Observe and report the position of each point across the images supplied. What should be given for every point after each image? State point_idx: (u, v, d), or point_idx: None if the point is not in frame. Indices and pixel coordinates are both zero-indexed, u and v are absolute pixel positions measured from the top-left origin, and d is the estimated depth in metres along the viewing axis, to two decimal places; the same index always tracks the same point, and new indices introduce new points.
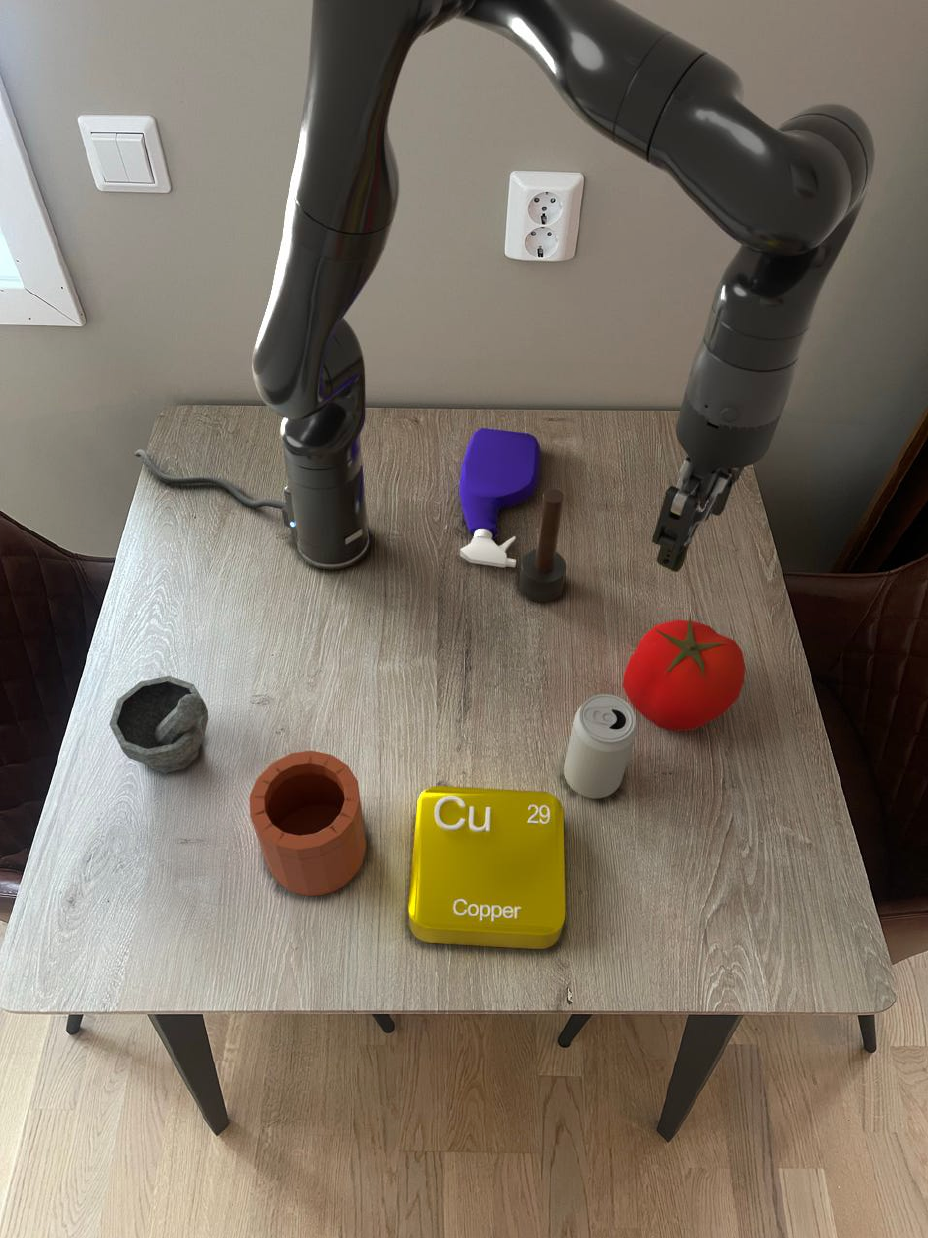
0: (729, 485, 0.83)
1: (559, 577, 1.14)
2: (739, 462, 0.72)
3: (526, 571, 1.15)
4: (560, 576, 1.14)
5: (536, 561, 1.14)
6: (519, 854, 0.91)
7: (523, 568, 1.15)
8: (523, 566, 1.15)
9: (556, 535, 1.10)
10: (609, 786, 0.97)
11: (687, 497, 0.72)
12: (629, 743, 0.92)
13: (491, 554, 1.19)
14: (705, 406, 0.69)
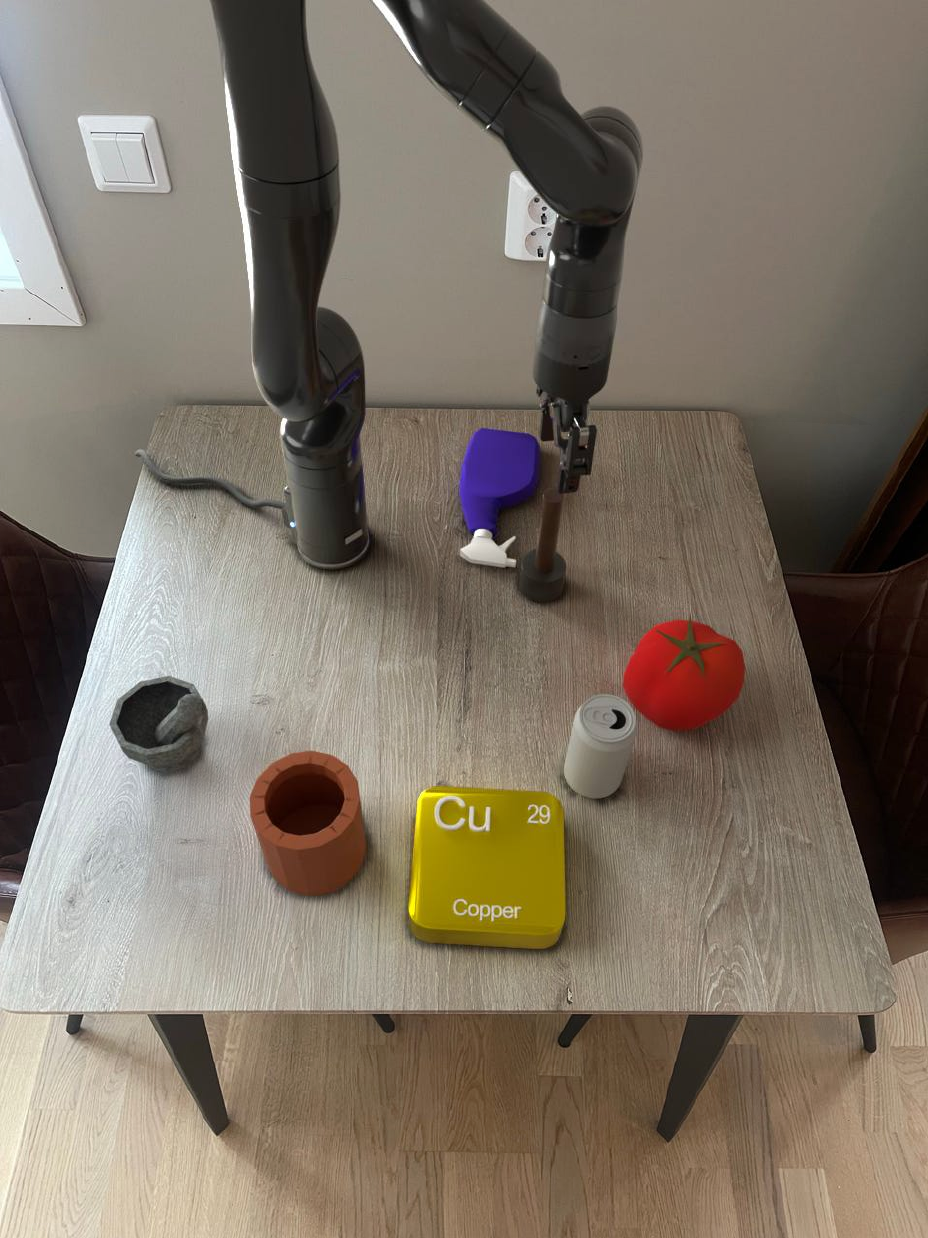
0: None
1: (559, 577, 1.14)
2: (602, 385, 0.91)
3: (526, 571, 1.15)
4: (560, 576, 1.14)
5: (536, 561, 1.14)
6: (519, 854, 0.91)
7: (523, 568, 1.15)
8: (523, 566, 1.15)
9: (556, 535, 1.10)
10: (609, 786, 0.97)
11: (588, 428, 0.90)
12: (629, 743, 0.92)
13: (491, 554, 1.19)
14: (574, 357, 0.87)
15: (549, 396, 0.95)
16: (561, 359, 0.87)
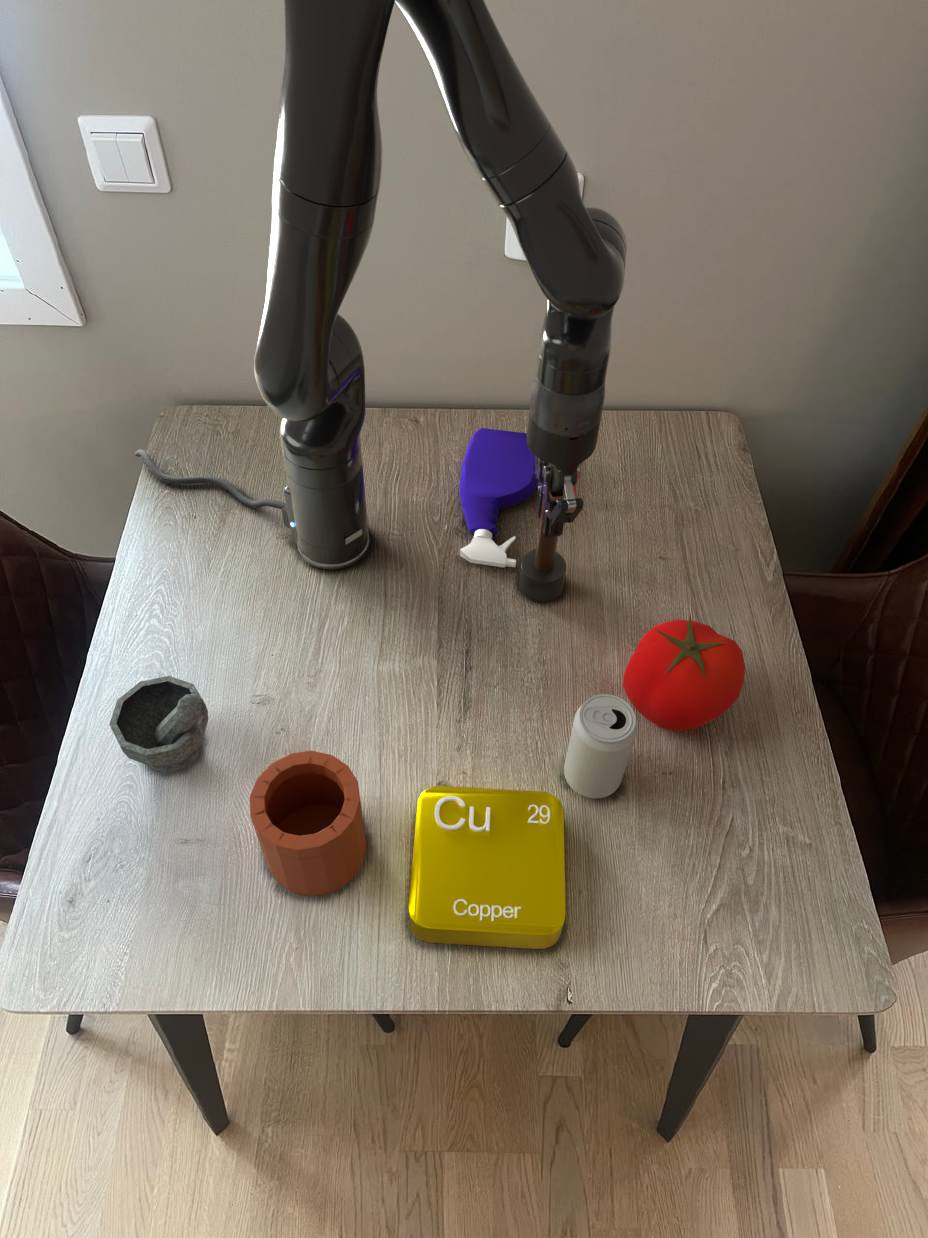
0: None
1: (559, 577, 1.14)
2: (591, 452, 0.98)
3: (526, 571, 1.15)
4: (560, 576, 1.14)
5: (536, 561, 1.14)
6: (519, 854, 0.91)
7: (523, 568, 1.15)
8: (523, 566, 1.15)
9: None
10: (609, 786, 0.97)
11: (576, 504, 0.99)
12: (629, 743, 0.92)
13: (491, 554, 1.19)
14: (565, 429, 0.94)
15: None
16: (553, 430, 0.94)
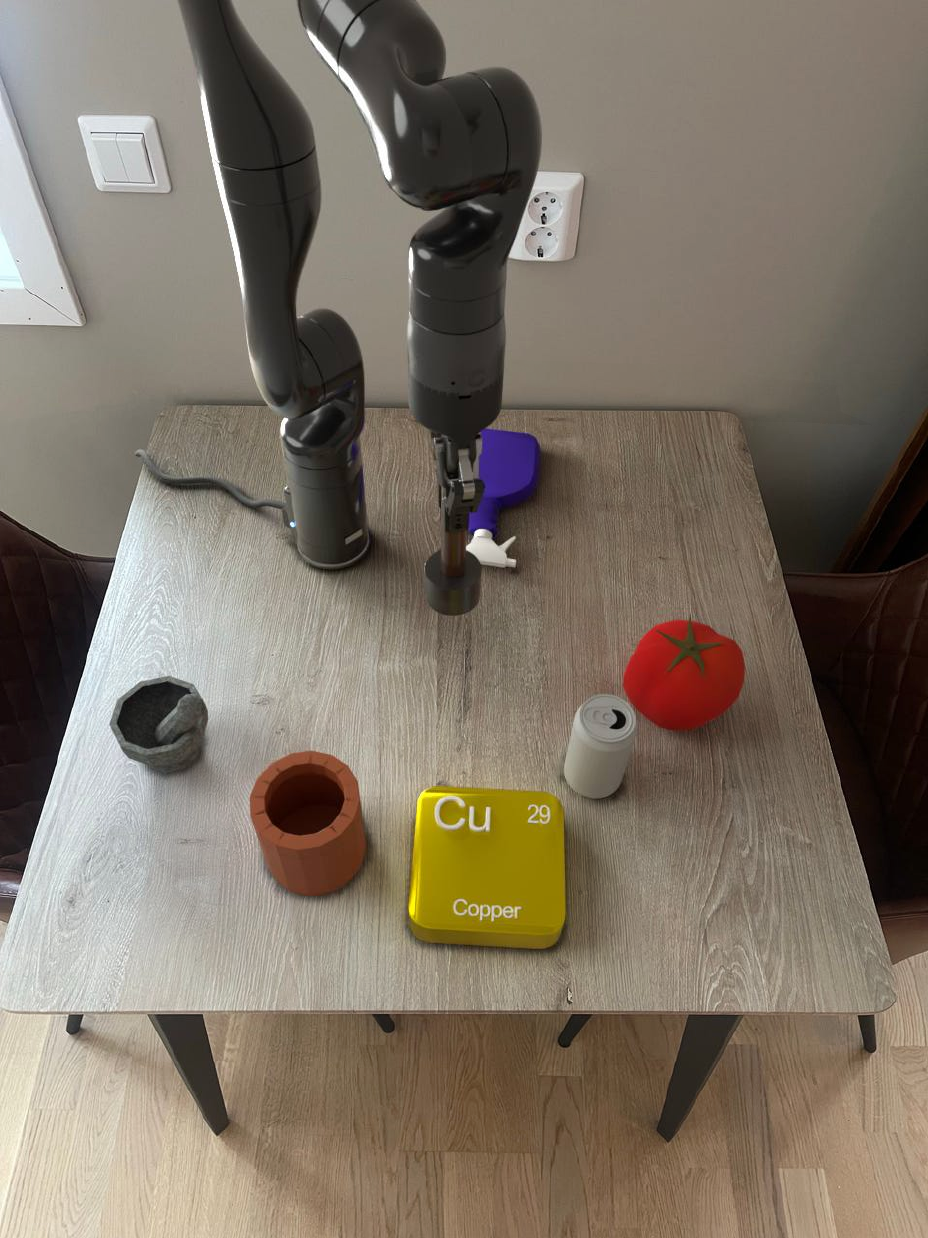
0: None
1: (472, 584, 0.89)
2: (493, 417, 0.73)
3: (429, 577, 0.90)
4: (473, 582, 0.89)
5: (442, 564, 0.89)
6: (519, 854, 0.91)
7: (426, 573, 0.90)
8: (426, 570, 0.90)
9: None
10: (609, 786, 0.97)
11: (474, 487, 0.74)
12: (629, 743, 0.92)
13: (491, 554, 1.19)
14: (451, 383, 0.69)
15: None
16: (436, 386, 0.69)
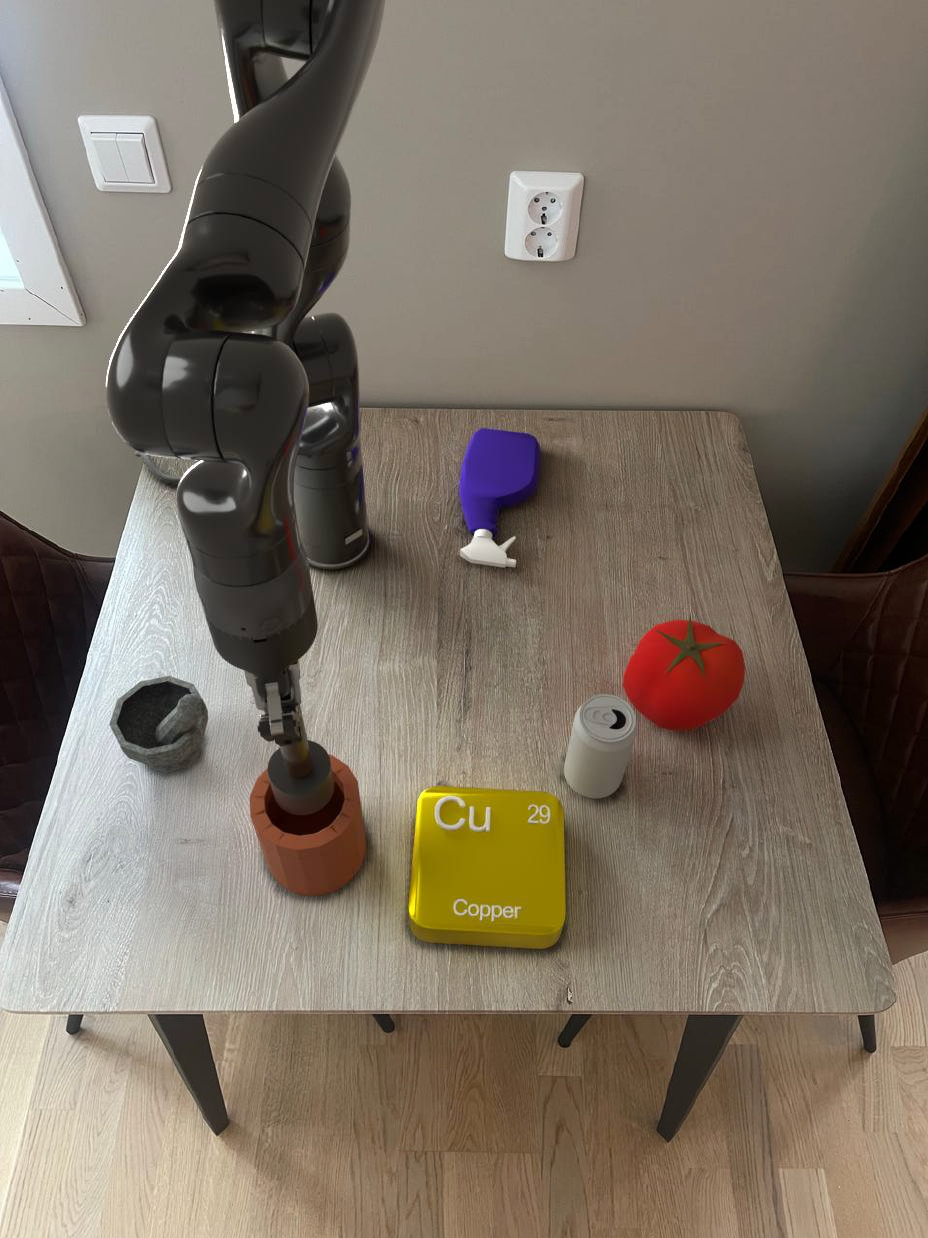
0: None
1: (317, 786, 0.81)
2: (303, 650, 0.65)
3: (271, 777, 0.82)
4: (318, 785, 0.81)
5: (284, 764, 0.81)
6: (519, 854, 0.91)
7: (269, 772, 0.82)
8: (269, 769, 0.82)
9: None
10: (609, 786, 0.97)
11: (283, 728, 0.66)
12: (629, 743, 0.92)
13: (491, 554, 1.19)
14: (242, 629, 0.61)
15: None
16: (226, 630, 0.61)
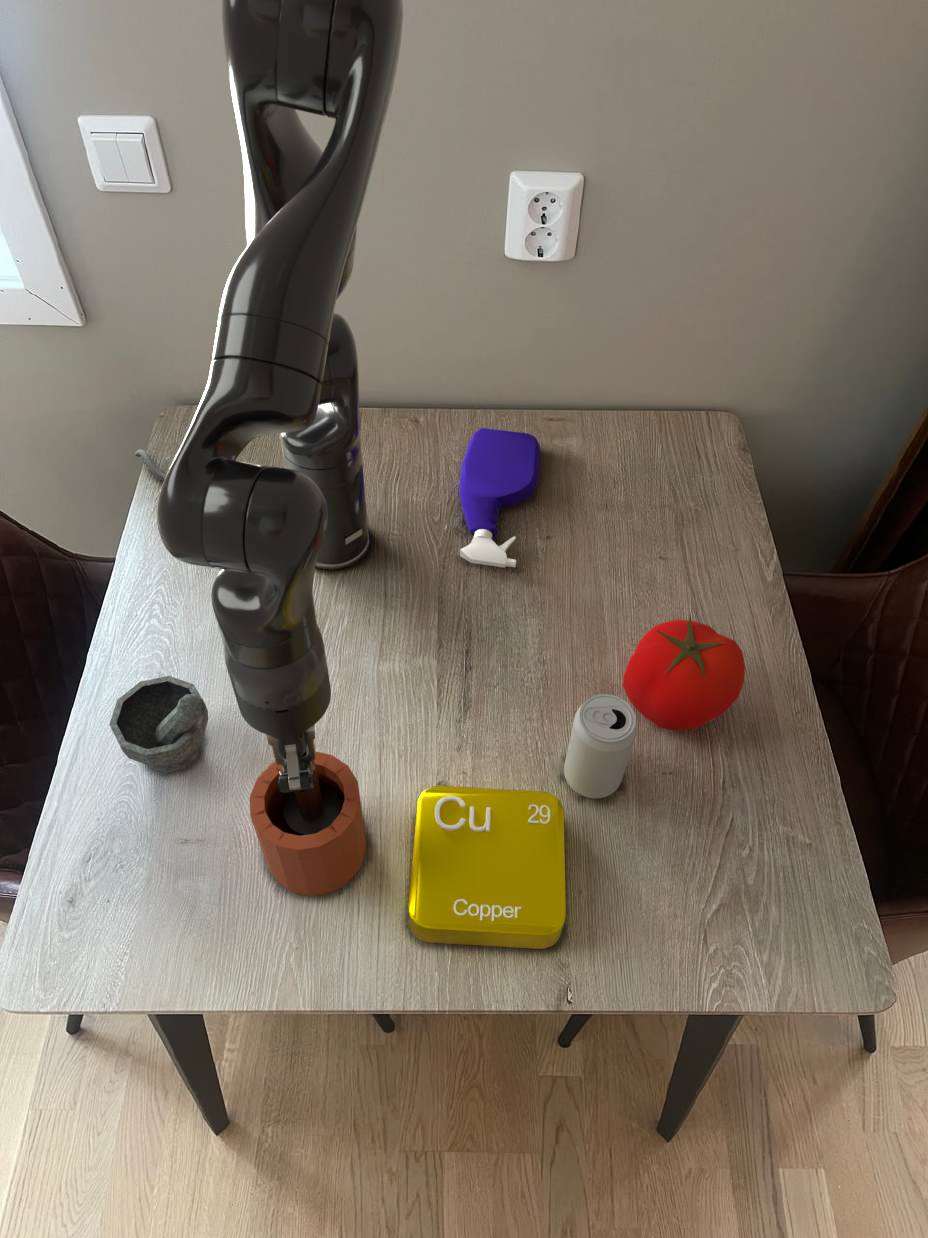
0: None
1: None
2: (318, 717, 0.74)
3: (287, 818, 0.91)
4: None
5: (298, 807, 0.90)
6: (519, 854, 0.91)
7: (284, 813, 0.91)
8: (285, 810, 0.91)
9: None
10: (609, 786, 0.97)
11: (300, 784, 0.74)
12: (629, 743, 0.92)
13: (491, 554, 1.19)
14: (266, 702, 0.70)
15: None
16: (252, 702, 0.70)
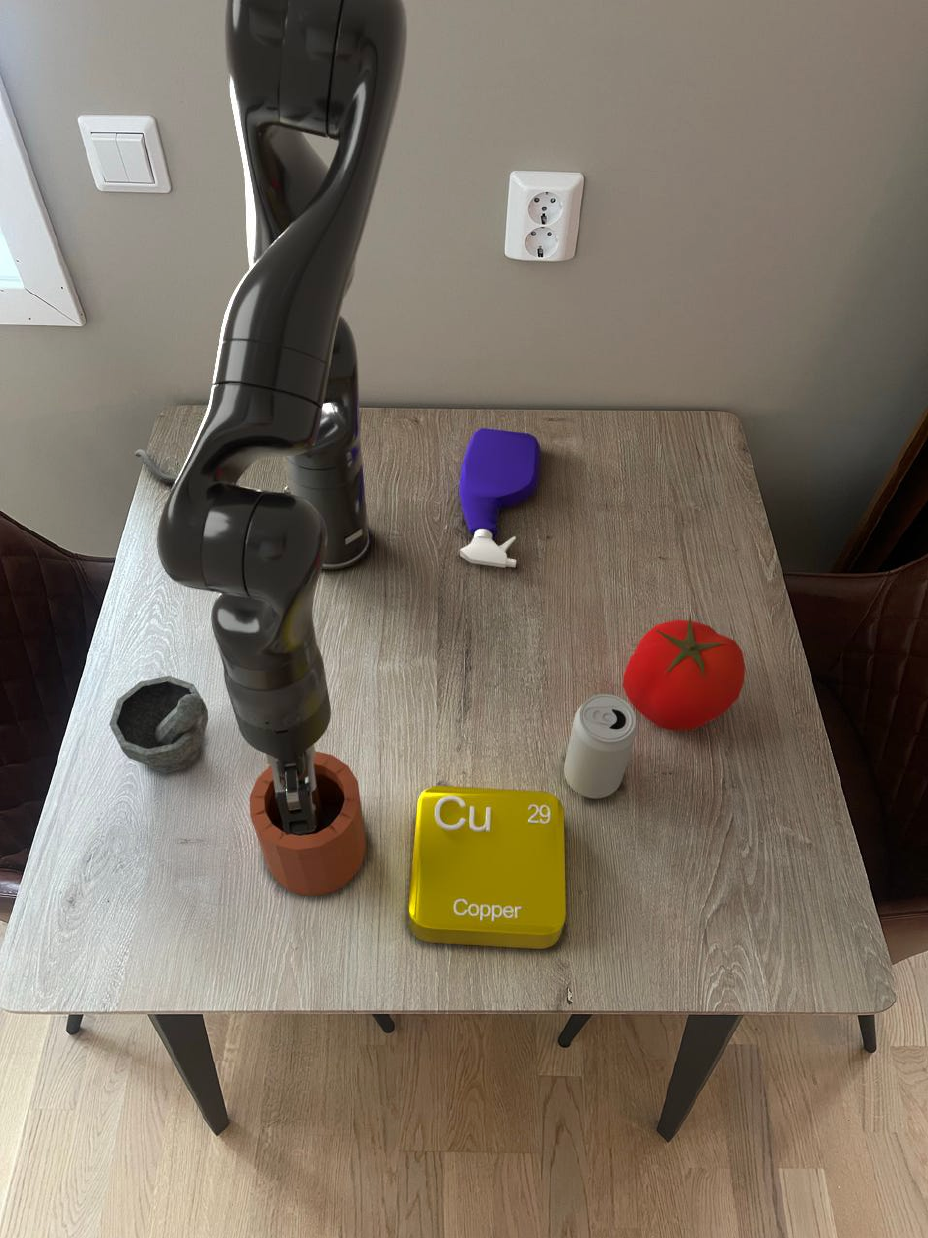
0: None
1: None
2: (318, 736, 0.74)
3: None
4: None
5: None
6: (519, 854, 0.91)
7: None
8: None
9: (315, 807, 0.87)
10: (609, 786, 0.97)
11: (297, 794, 0.73)
12: (629, 743, 0.92)
13: (491, 554, 1.19)
14: (266, 723, 0.70)
15: None
16: (252, 723, 0.70)
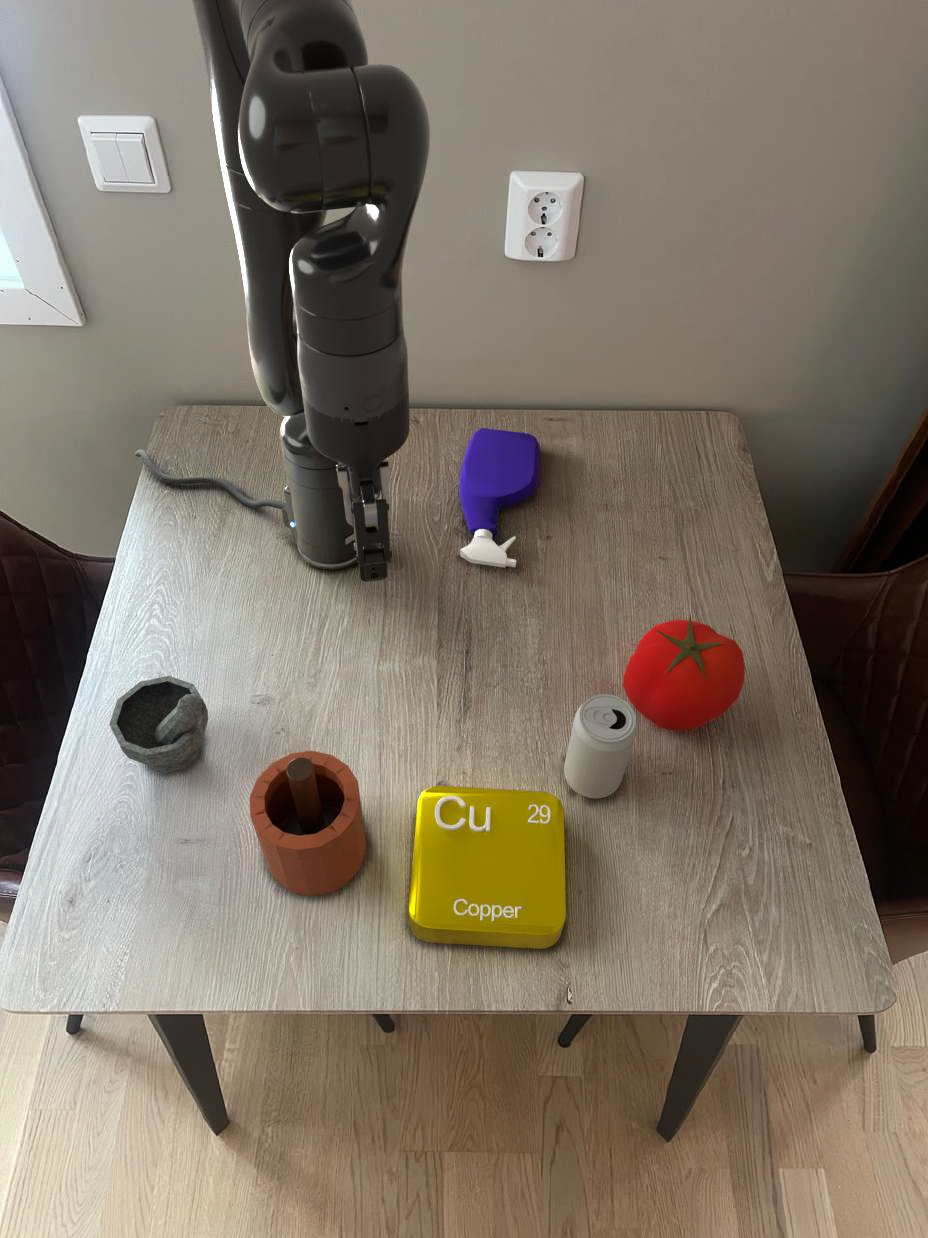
0: None
1: None
2: (398, 444, 0.67)
3: None
4: None
5: (300, 827, 0.91)
6: (519, 854, 0.91)
7: None
8: (287, 830, 0.92)
9: (315, 807, 0.87)
10: (609, 786, 0.97)
11: (376, 504, 0.66)
12: (629, 743, 0.92)
13: (491, 554, 1.19)
14: (345, 409, 0.62)
15: None
16: (329, 411, 0.63)
